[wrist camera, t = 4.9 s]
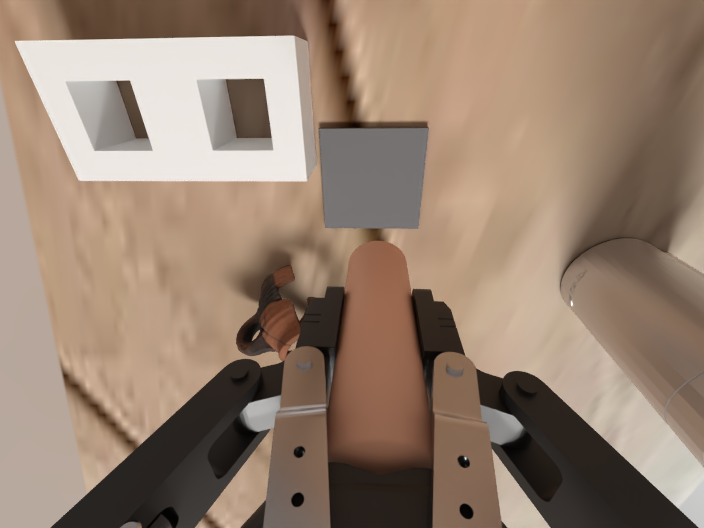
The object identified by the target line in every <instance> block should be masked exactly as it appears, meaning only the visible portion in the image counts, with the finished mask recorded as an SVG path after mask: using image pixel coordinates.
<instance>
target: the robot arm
mask: <svg viewBox="0 0 704 528" xmlns="http://www.w3.org/2000/svg"><path fill="white" fill-rule="evenodd" d="M561 294H562V297H563V299H564V301H565V302H566V303H567V305H568V306H569V307H570V308H571V309H572V311H573V312H574V313H575V314H576V315H577V317H578V318H579V319H580V320H581V321H582V323H583V324H584V325H585V326H586V328H587V329H588V330H589V331H590V332H591V334H592V335H593V336H594V337H595V338H596V340H597V341H598V342H599V343H600V344H601V346H602V347H603V348H604V349H605V350H606V352H607V353H608V354H609V355H610V356H611V357H612V359H613V360H614V361H615V362H616V363H617V365H618V366H619V367H620V368H621V369H622V371H623V372H624V373H625V374H626V375H627V377H628V378H629V379H630V380H631V381H632V383H633V384H634V385H635V386H636V387H637V389H638V390H639V391H640V392H641V393H642V395H643V396H644V397H645V398H646V399H647V400H648V402H649V403H650V404H651V405H652V406H653V408H654V409H655V410H656V411H657V412H658V414H659V415H660V416H661V417H662V418H663V420H664V421H665V422H666V423H667V424H668V425H669V426H670V428H671V429H672V430H673V431H674V432H675V434H676V435H677V436H678V437H679V438H680V440H681V441H682V442H683V443H684V444H685V446H686V447H687V448H688V449H689V450H690V452H691V453H692V454H693V455H694V456H695V458H696V459H697V460H698V461H699V462H700V463H701V465H702V466H703V467H704V274H703V273H701V272H699V271H698V270H696V269H694V268H693V267H691V266H690V265H688V264H686V263H685V262H683V261H681V260H680V259H678V258H677V257H675V256H673V255H672V254H670V253H668V252H662V251H661V250H659V249H657V248H656V247H654V246H653V245H651V244H649V243H647V242H645V241H643V240H639V239H634V238H621V239H615V240H610V241H607V242H604V243H601V244H599V245H597V246H595V247H592V248H590V249H589V250H587V251H586V252H584V253H583V254H581V255H580V256H579V257H578V258H577V259H576V260H575V261H573V262H572V264H571V265H570V266H569V267H568V269H567V270H566V272H565V274H564V276H563V278H562V282H561ZM344 296H345V289H344V287H327V290H326V294H325V298H314V299H313V300H312V301H311V302H310V304H309V305H308V307H307V310H306V314H305V317H304V320H303V324H302V327H301V331H300V334H299V338H298V341H297V345H296V348H295V349H294V350H293V351H291V352H290V353H289V354H288V355H287V357H286V359H285V361H283V362H281V363H278V364H275V365H271V366H266V367H262V368H260V365H259V364H258V363H257V362H256V361H254V360H251V359H241V360H237V361H234V362H232V363H230V364H229V365H227V366H226V367H225V368H224V369H222V370H221V371H220V372H219V373H218V374H217V375H216V376H215V377H214V378H213V379H212V380H211V381H209V382H208V383H207V384H206V385H205V386H204V387H203V388H202V389H201V390H200V391H199V392H197V393H196V394H195V395H194V396H193V397H192V398H191V399H190V400H189V401H188V402H187V403H186V404H184V405H183V406H182V407H181V408H180V409H179V410H178V411H177V412H176V413H175V414H174V415H173V416H171V417H170V418H169V419H168V420H167V421H166V422H165V423H164V424H163V425H162V426H161V427H159V428H158V429H157V430H156V431H155V432H154V433H153V434H152V435H151V436H150V437H149V438H148V439H146V440H145V441H144V442H143V443H142V444H141V445H140V446H139V447H138V448H137V449H136V450H135V451H133V452H132V453H131V454H130V455H129V456H128V457H127V458H126V459H125V460H124V461H123V462H121V463H120V464H119V465H118V466H117V467H116V468H115V469H114V470H113V471H112V472H111V473H110V474H108V475H107V476H106V477H105V478H104V479H103V480H102V481H101V482H100V483H99V484H98V485H96V486H95V487H94V488H93V489H92V490H91V491H90V492H89V493H88V494H87V495H86V496H85V497H83V498H82V499H81V500H80V501H79V502H78V503H77V504H76V505H75V506H74V507H73V508H72V509H70V510H69V511H68V512H67V513H66V514H65V515H64V516H63V517H62V518H61V519H60V520H59V521H58V522H56V523H55V524H54V525H53V526H52V527H51V528H195V527H196V525H197V524H198V523H199V521H200V520H201V519H202V518H203V516H204V515H205V514H206V512H207V511H208V510H209V509H210V507H211V506H212V505H213V503H214V502H215V501H216V499H217V498H218V497H219V496H220V494H221V493H222V492H223V490H224V489H225V488H226V486H227V485H228V484H229V483H230V481H231V480H232V479H233V477H234V476H235V475H236V474H237V472H238V471H239V470H240V468H241V467H242V466H243V464H244V463H245V462H246V461H247V459H248V458H249V457H250V455H251V454H252V453H253V452H254V450H255V449H256V448H257V446H258V445H259V444H260V442H261V441H262V440H263V439H264V437H265V436H266V435H267V433H268V432H269V430H270V429H271V428H274V432H273V441H272V450H271V460H270V469H269V478H268V487H267V497H266V500H265V501H264V503H263V504H262V505H261V506H260V507H259V508H258V509H257V510H256V511H255V512H254V513H253V515H252V516H251V517H250V518H249V519H248V520H247V521H246V522H245V523H244V524H243V525H242V527H241V528H507V527H506V526H505V524H504V523H503V522H502V521H501V515H500V508H499V500H498V493H497V485H496V478H495V470H494V463H493V455H492V449H493V450H494V452H495V453H496V454H497V456H498V457H499V459H500V460H501V461H502V463H503V464H504V465H505V467H506V468H507V469H508V471H509V472H510V473H511V475H512V476H513V477H514V479H515V480H516V481H517V483H518V484H519V486H520V487H521V488H522V490H523V491H524V492H525V494H526V495H527V496H528V498H529V499H530V500H531V502H532V503H533V504H534V506H535V507H536V508H537V510H538V511H539V512H540V514H541V515H542V517H543V518H544V519H545V521H546V522H547V523H548V525H549V526H550V527H551V528H698V527H697V526H696V525H695V524H694V523H693V522H692V521H691V520H690V519H688V517H686V516H685V515H684V514H683V513H682V512H681V511H680V510H679V509H678V508H677V507H676V506H675V505H674V504H673V503H672V502H671V501H669V500H668V499H667V498H666V497H665V496H664V495H663V494H662V493H661V492H660V491H659V490H658V489H657V488H656V487H655V486H653V485H652V484H651V483H650V482H649V481H648V480H647V479H646V478H645V477H644V476H643V475H642V474H641V473H640V472H639V471H637V470H636V469H635V468H634V467H633V466H632V465H631V464H630V463H629V462H628V461H627V460H626V459H625V458H624V457H623V456H621V455H620V454H619V453H618V452H617V451H616V450H615V449H614V448H613V447H612V446H611V445H610V444H609V443H608V442H607V441H605V440H604V439H603V438H602V437H601V436H600V435H599V434H598V433H597V432H596V431H595V430H594V429H593V428H592V427H591V426H589V425H588V424H587V423H586V422H585V421H584V420H583V419H582V418H581V417H580V416H579V415H578V414H577V413H576V412H575V411H573V410H572V409H571V408H570V407H569V406H568V405H567V404H566V403H565V402H564V401H563V400H562V399H561V398H560V397H558V396H557V395H556V394H555V393H554V392H553V391H552V390H551V389H550V388H549V387H548V386H547V385H546V384H545V383H544V382H542V381H541V380H540V379H539V378H537V377H535V376H534V375H531V374H529V373H526V372H522V371H513V372H509V373H507V374H506V375H505V376H504V378H500V377H496V376H493V375H490V374H487V373H484V372H482V371H480V370H478V369H476V367H475V365H474V364H473V362H472V361H471V360H470V359H469V358H467V357H466V356H465V353H464V350H463V347H462V344H461V341H460V338H459V334H458V331H457V328H456V325H455V322H454V318H453V315H452V312H451V309H450V308H449V307H448V306H447V305H446V304H445V303H444V302H438V301H434V300H433V296H432V292H431V290H430V289H413V291H412V301H413V308H414V314H415V320H416V326H417V333H418V339H419V345H420V352H421V358H422V364H423V369H424V376H425V382H426V388H427V394H428V401H429V407H430V413H431V425H430V427H431V468H415V467H414V468H409V469H405V470H400V471H396V472H392V473H387V474H383V475H377V474H374V473H371V472H368V471H365V470H363V469H360V468H357V467H354V466H351V465H348V464H346V463H334V462H328V423H327V412H328V404H329V398H330V391H331V384H332V377H333V370H334V364H335V360H336V353H337V346H338V339H339V332H340V325H341V318H342V311H343V304H344Z"/></svg>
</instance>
